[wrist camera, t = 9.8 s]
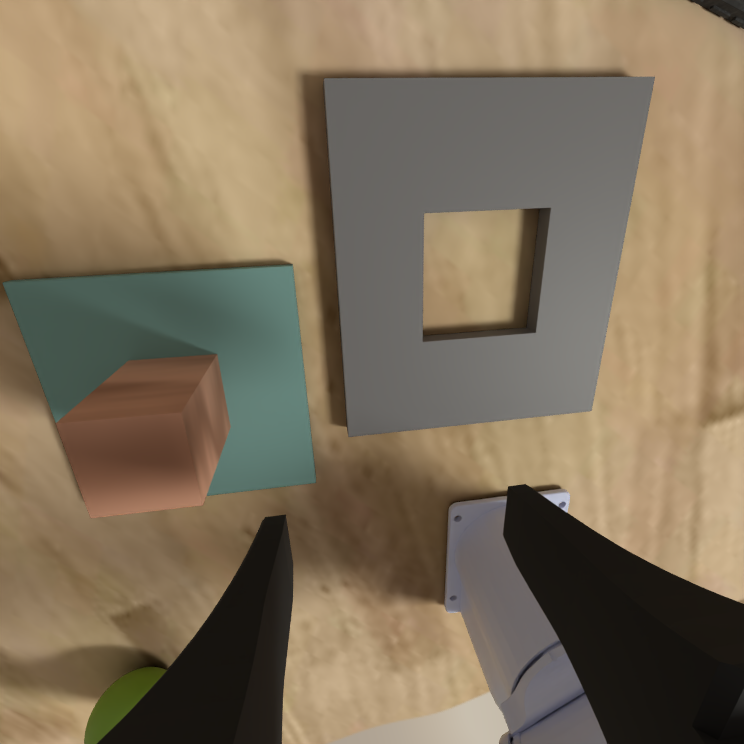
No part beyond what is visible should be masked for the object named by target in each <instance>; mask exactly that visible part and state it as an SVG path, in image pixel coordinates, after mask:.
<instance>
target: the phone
mask: <svg viewBox="0 0 744 744" xmlns="http://www.w3.org/2000/svg"><path fill="white" fill-rule="evenodd" d="M691 1H693V2H695V3H697V4H699V5H701V6H703V7H704V8H706V9H708V10H710V11H712V12H714V13H716V14H717V15H719V16H721V17H723V18H726V19H728V20H729V21H731V22H732V23H734V24H735V25H737V26H739V27H741V28H743V29H744V0H691Z"/></svg>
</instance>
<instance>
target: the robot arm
mask: <svg viewBox="0 0 744 744" xmlns="http://www.w3.org/2000/svg"><path fill="white" fill-rule="evenodd" d="M569 500H570V494H569V493H568V492H567V490H565V489H556V490H548V491H541V492H537V491H535V490H534V489H532V488H531V487H529V486H528V485H526V484H524V485H516V486H508V492H507V496H502V497H494V498H487V499H479V500H471V501H463V502H456V503H453V504H452V505H451V506H450V507H449V513H448V536H447V559H446V582H445V608H446V611H447V612H449V613H454V612H461V614H462V617H463V619H464V622H465V625H466V627H467V630H468V633H469V636H470V638H471V641H472V644H473V646H474V649H475V652H476V654H477V657H478V660H479V662H480V665H481V668H482V670H483V673H484V676H485V678H486V681H487V684H488V687H489V689H490V692H491V694H492V696H493V698H494V700H495V702H496V704H497V706H498V707H499V709H500V710H501V711H502V713H503V715H504V718H505V720H506V723H507V726H508V728H509V731H508V732H507V733H505V734H503V735H502V736H501V738H500V741H499V744H744V604H742V603H740V602H737V601H735V600H732V599H729V598H727V597H724V596H722V595H719V594H717V593H714V592H712V591H709V590H707V589H705V588H702V587H700V586H698V585H695V584H693V583H691V582H689V581H687V580H684V579H682V578H680V577H678V576H676V575H673V574H671V573H669V572H667V571H665V570H663V569H661V568H659V567H657V566H655V565H653V564H651V563H649V562H648V561H646V560H644V559H642V558H640V557H638V556H636V555H634V554H632V553H631V552H629V551H627V550H625V549H624V548H622V547H620V546H618V545H617V544H615V543H613V542H612V541H610V540H608V539H607V538H605V537H604V536H602V535H600V534H599V533H597V532H595V531H594V530H592V529H591V528H589V527H588V526H586V525H585V524H583V523H582V522H580V521H579V520H577V519H576V518H574V517H573V516H571V515H570V514H568V513H567V511H568V506H569ZM560 502H561V503H560ZM559 503H560V504H559ZM456 516H458V517H456ZM454 517H456V518H454ZM292 603H293V560H292V553H291V547H290V540H289V533H288V527H287V520H286V515H280V516H272V517H265V519H264V520H263V521H262V523H261V525H260V528H259V530H258V532H257V534H256V537H255V539H254V541H253V543H252V545H251V547H250V549H249V551H248V553H247V555H246V556H245V558H244V560H243V562H242V564H241V566H240V567H239V569H238V571H237V573H236V575H235V576H234V578H233V580H232V581H231V583H230V585H229V586H228V588H227V589H226V591H225V593H224V594H223V596H222V597H221V599H220V601H219V602H218V604H217V605H216V607H215V608H214V610H213V611H212V613H211V614H210V615H209V617H208V618H207V620H206V621H205V623H204V624H203V625H202V627H201V628H200V629H199V631H198V632H197V633H196V635H195V636H194V637H193V639H192V640H191V641H190V643H189V644H188V645H187V646H186V648H185V649H184V650H183V651H182V653H181V654H180V655H179V656H178V658H177V659H176V660H175V661H174V662H173V664H172V665H171V666H170V667H169V668H168V670H167V671H166V672H165V673H164V674H163V675H162V676H161V678H160V679H159V680H158V681H157V682H156V683H155V684H154V685H153V686H152V687H151V689H150V690H149V691H148V692H147V693H146V694H145V695H144V696H143V697H142V698H141V699H140V701H139V702H138V703H137V704H136V705H135V706H134V707H133V708H132V709H131V710H130V711H129V712H128V713H127V714H126V715H125V716H124V717H123V718H122V719H121V720H120V721H119V722H118V723H117V724H116V725H115V726H114V727H113V728H112V729H111V730H110V731H109V732H108V733H107V734H106V735H105V736H104V737H103V738H102V739H101V740H100V741H99V742H98V743H97V744H282V710H283V688H284V676H285V667H286V658H287V649H288V640H289V631H290V622H291V612H292Z"/></svg>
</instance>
